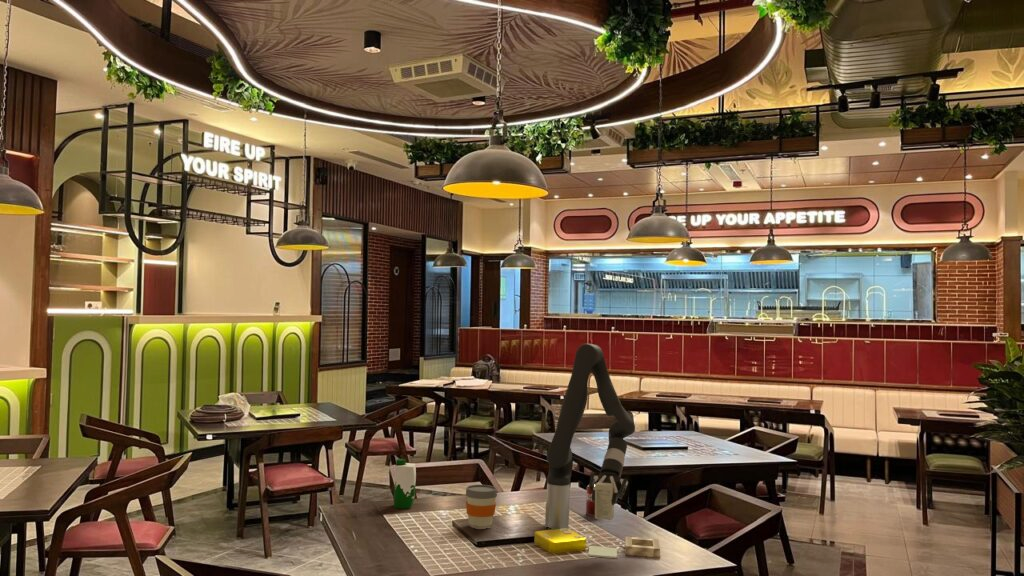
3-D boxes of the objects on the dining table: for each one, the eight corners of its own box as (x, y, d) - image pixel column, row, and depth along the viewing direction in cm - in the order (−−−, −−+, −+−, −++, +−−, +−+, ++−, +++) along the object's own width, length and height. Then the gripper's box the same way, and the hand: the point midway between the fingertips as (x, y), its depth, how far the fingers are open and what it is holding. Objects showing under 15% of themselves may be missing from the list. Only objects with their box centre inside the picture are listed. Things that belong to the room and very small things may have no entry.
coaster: (588, 556, 250) (588, 554, 250) (589, 547, 260) (589, 545, 260) (616, 558, 249) (616, 556, 249) (617, 549, 259) (617, 548, 259)
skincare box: (613, 517, 256) (615, 483, 257) (611, 520, 252) (612, 485, 253) (596, 515, 258) (597, 481, 259) (593, 518, 254) (594, 483, 255)
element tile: (532, 543, 265) (532, 529, 265) (567, 539, 271) (567, 526, 271) (551, 555, 251) (551, 541, 251) (587, 550, 257) (588, 537, 258)
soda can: (602, 517, 303) (603, 488, 304) (585, 515, 305) (586, 487, 305) (603, 513, 310) (604, 485, 311) (586, 511, 312) (587, 483, 312)
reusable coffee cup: (458, 528, 279) (460, 489, 280) (472, 520, 291) (474, 483, 292) (488, 532, 275) (489, 493, 275) (500, 524, 286) (502, 486, 287)
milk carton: (395, 503, 314) (397, 457, 315) (415, 504, 314) (417, 458, 315) (391, 508, 305) (393, 461, 306) (412, 509, 305) (414, 462, 306)
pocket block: (625, 554, 253) (625, 546, 253) (625, 544, 265) (625, 536, 265) (659, 557, 251) (660, 549, 252) (658, 547, 263) (658, 539, 263)
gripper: (592, 455, 266) (581, 493, 255) (630, 459, 260) (621, 499, 249) (596, 467, 271) (585, 505, 259) (633, 472, 265) (624, 511, 253)
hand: (603, 502), depth 254 cm, fingers closed on skincare box, 6 cm apart
